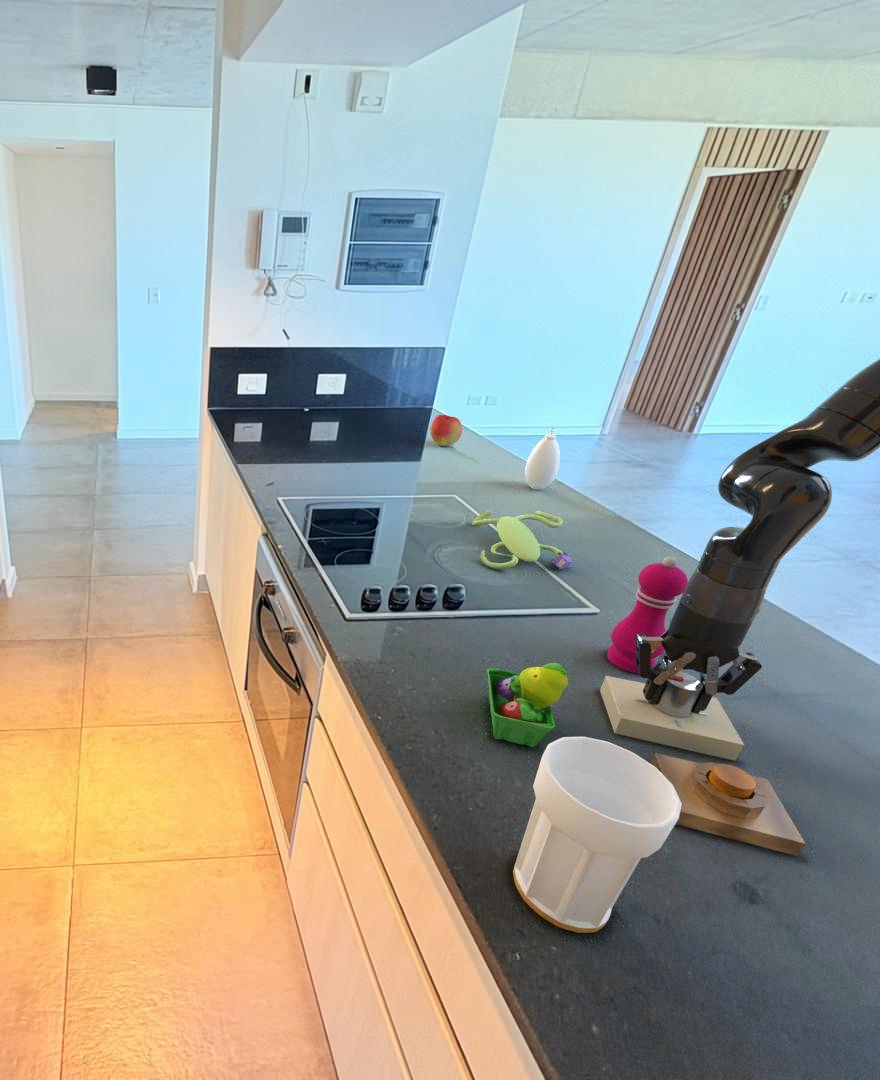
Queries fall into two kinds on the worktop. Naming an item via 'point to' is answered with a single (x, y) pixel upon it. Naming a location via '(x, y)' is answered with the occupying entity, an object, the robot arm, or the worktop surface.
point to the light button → (732, 781)
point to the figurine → (521, 539)
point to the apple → (446, 430)
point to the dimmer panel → (669, 721)
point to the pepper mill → (647, 612)
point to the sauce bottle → (543, 462)
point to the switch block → (729, 807)
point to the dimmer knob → (679, 695)
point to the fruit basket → (525, 702)
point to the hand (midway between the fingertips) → (671, 704)
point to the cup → (590, 830)
